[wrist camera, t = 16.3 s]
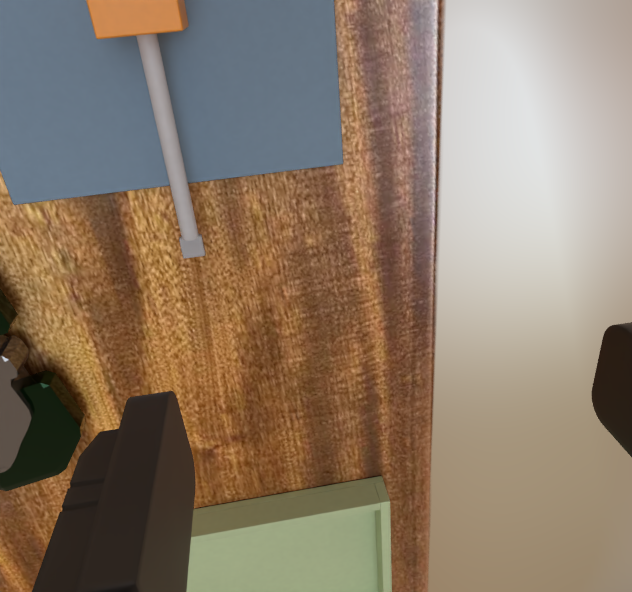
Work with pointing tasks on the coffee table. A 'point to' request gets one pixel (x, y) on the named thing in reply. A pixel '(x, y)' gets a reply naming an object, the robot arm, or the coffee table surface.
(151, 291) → the coffee table surface
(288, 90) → the mat
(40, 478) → the clover-shaped pad
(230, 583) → the tray
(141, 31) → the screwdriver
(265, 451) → the coffee table surface
